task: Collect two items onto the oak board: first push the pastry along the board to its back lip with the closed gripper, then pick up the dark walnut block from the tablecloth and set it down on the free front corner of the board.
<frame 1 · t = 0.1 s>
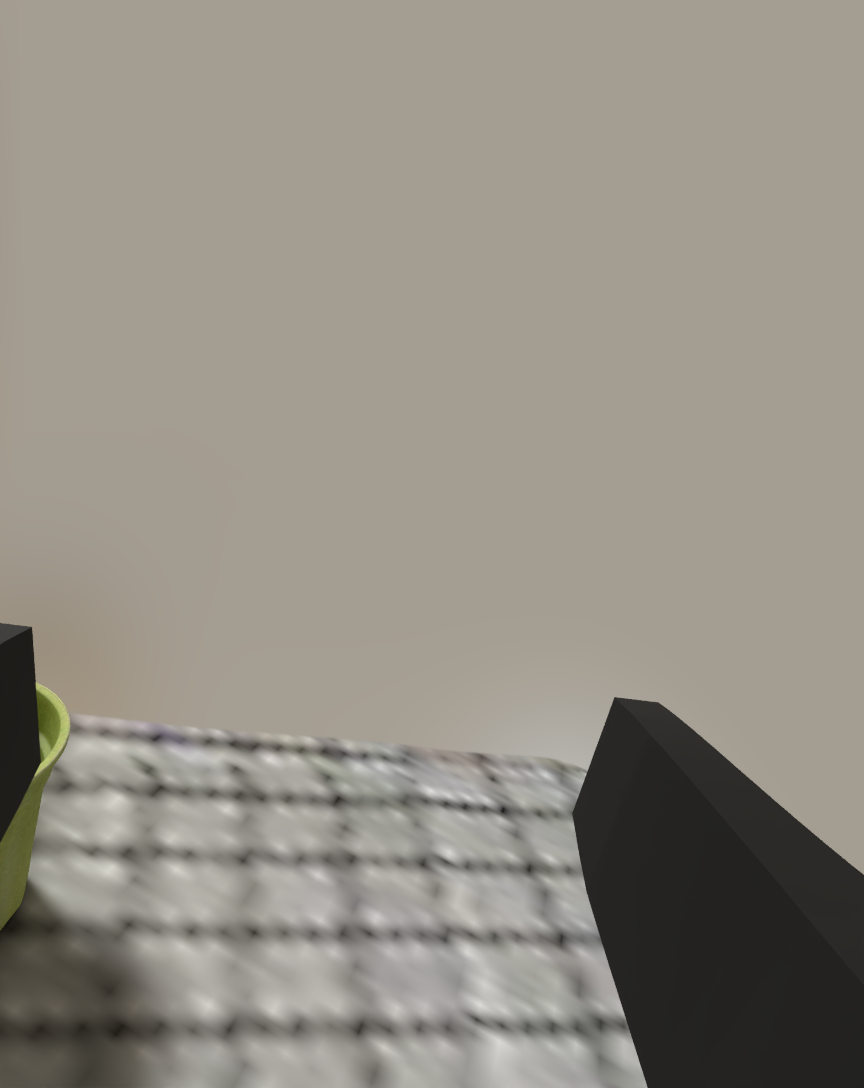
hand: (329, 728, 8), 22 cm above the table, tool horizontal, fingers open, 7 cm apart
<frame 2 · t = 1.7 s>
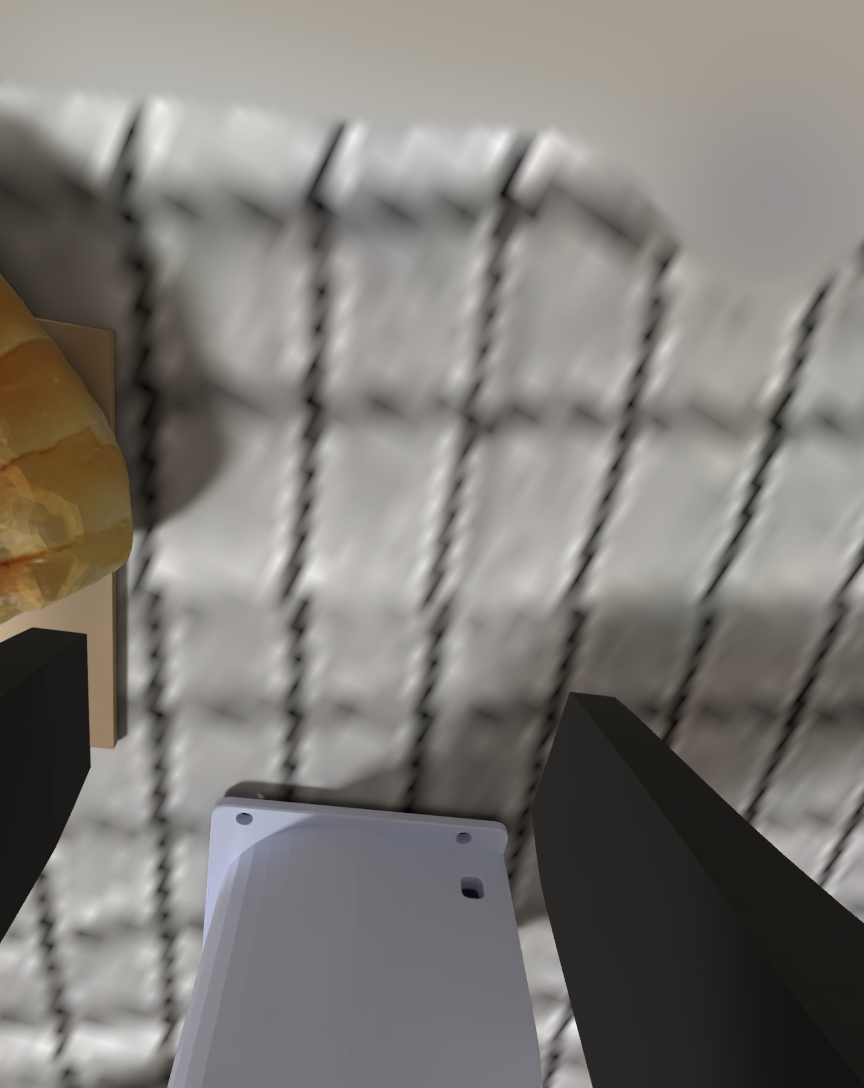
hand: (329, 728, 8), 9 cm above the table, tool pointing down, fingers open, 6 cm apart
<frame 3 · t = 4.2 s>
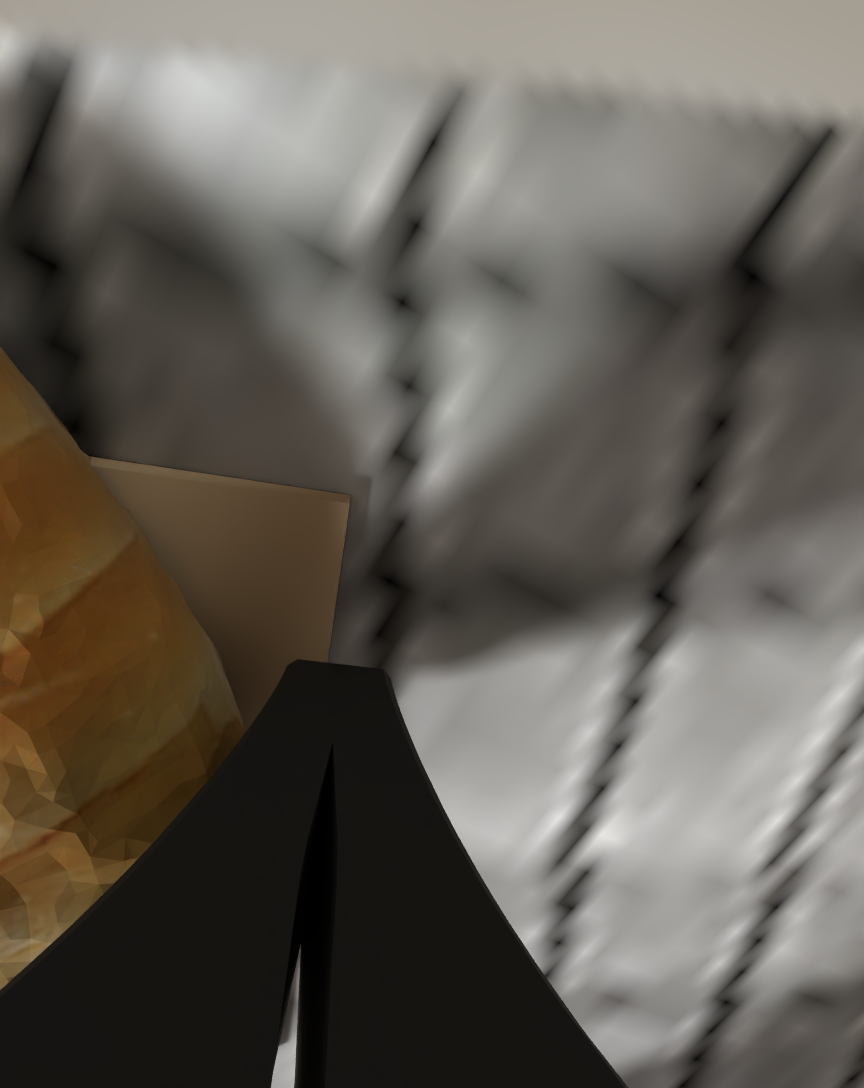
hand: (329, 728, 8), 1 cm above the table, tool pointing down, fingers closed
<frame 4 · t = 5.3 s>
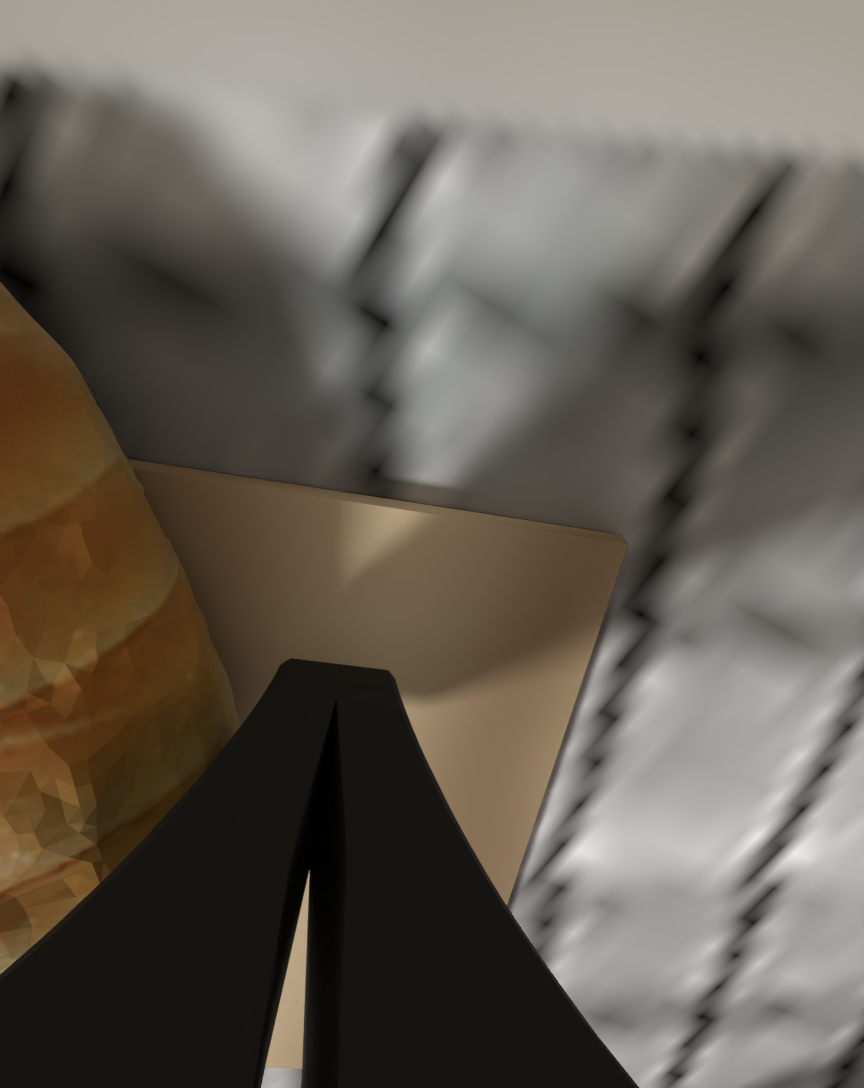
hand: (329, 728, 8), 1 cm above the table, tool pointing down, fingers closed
board: (54, 811, 10), on the table
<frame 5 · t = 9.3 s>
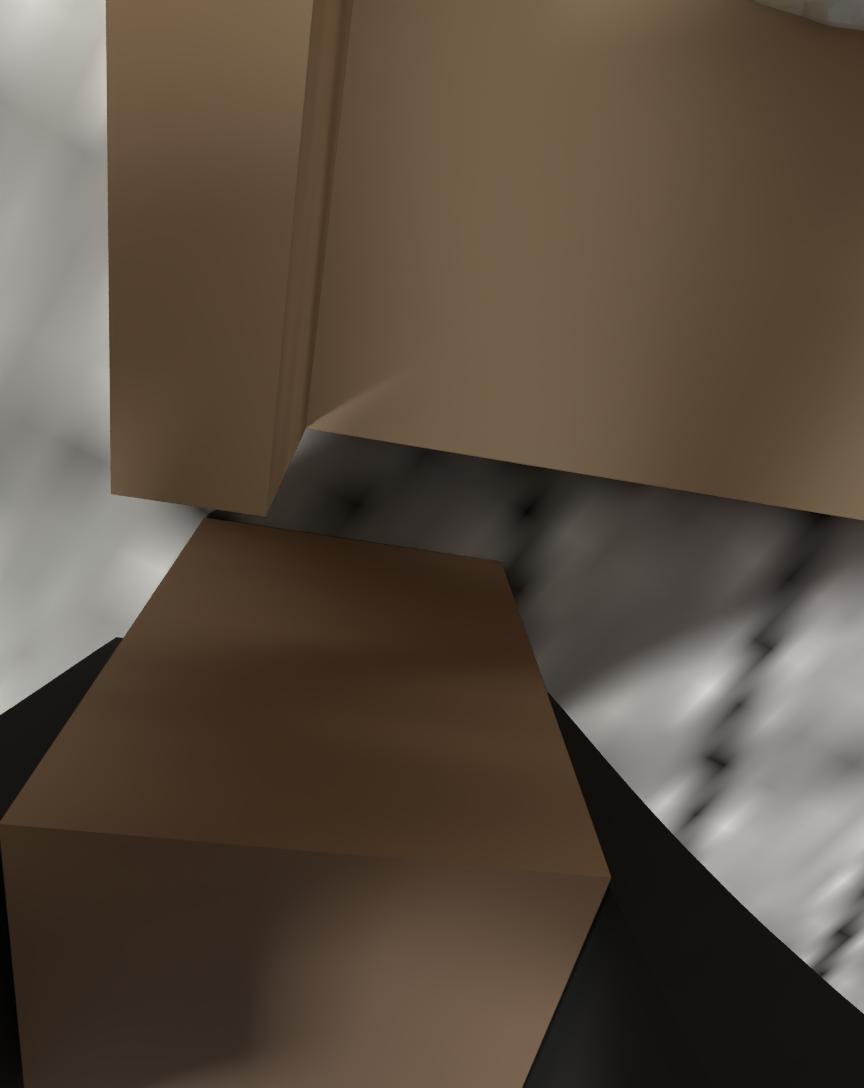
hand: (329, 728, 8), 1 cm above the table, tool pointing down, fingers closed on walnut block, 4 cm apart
walnut block: (337, 663, 10), on the table, touching gripper
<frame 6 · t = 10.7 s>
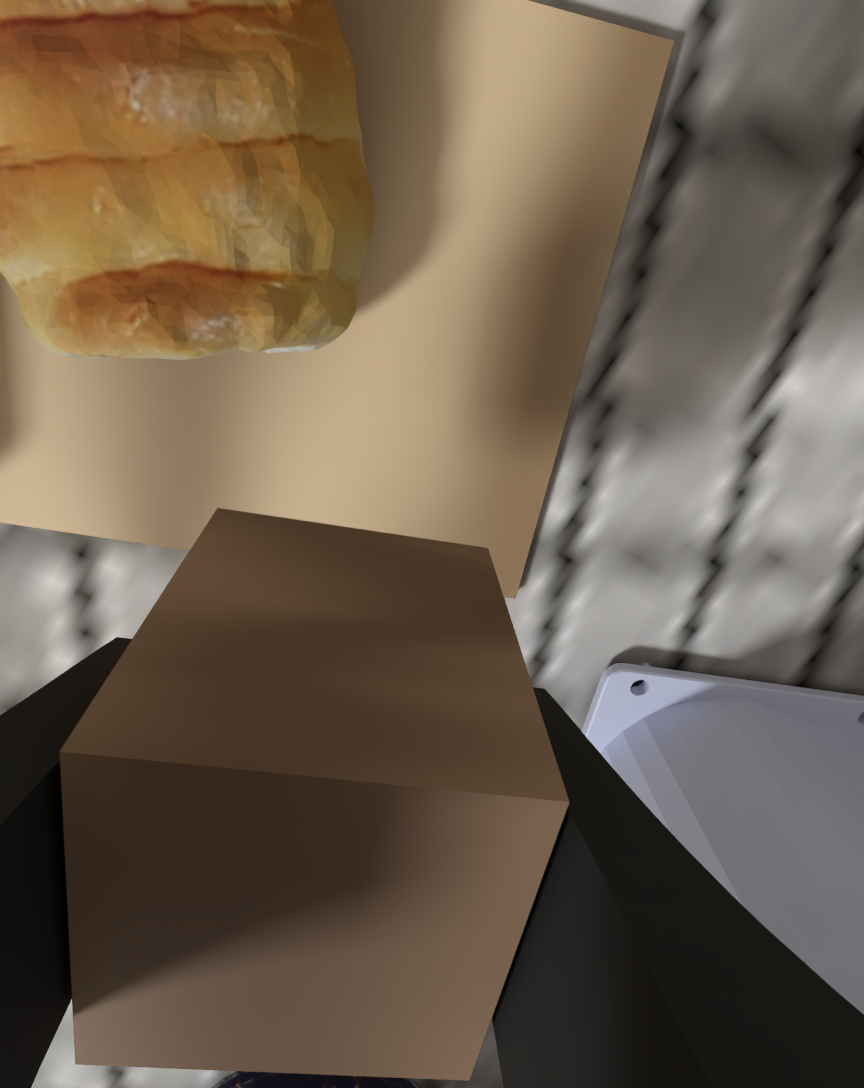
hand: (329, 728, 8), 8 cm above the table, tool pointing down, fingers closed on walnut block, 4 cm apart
walnut block: (338, 642, 11), point 6 cm above the table, touching gripper
board: (240, 294, 14), on the table
pastry: (178, 135, 13), resting on board
when the fingers open (3 cm above the table, at t = 12.2 s): walnut block stays where it is, resting on board.
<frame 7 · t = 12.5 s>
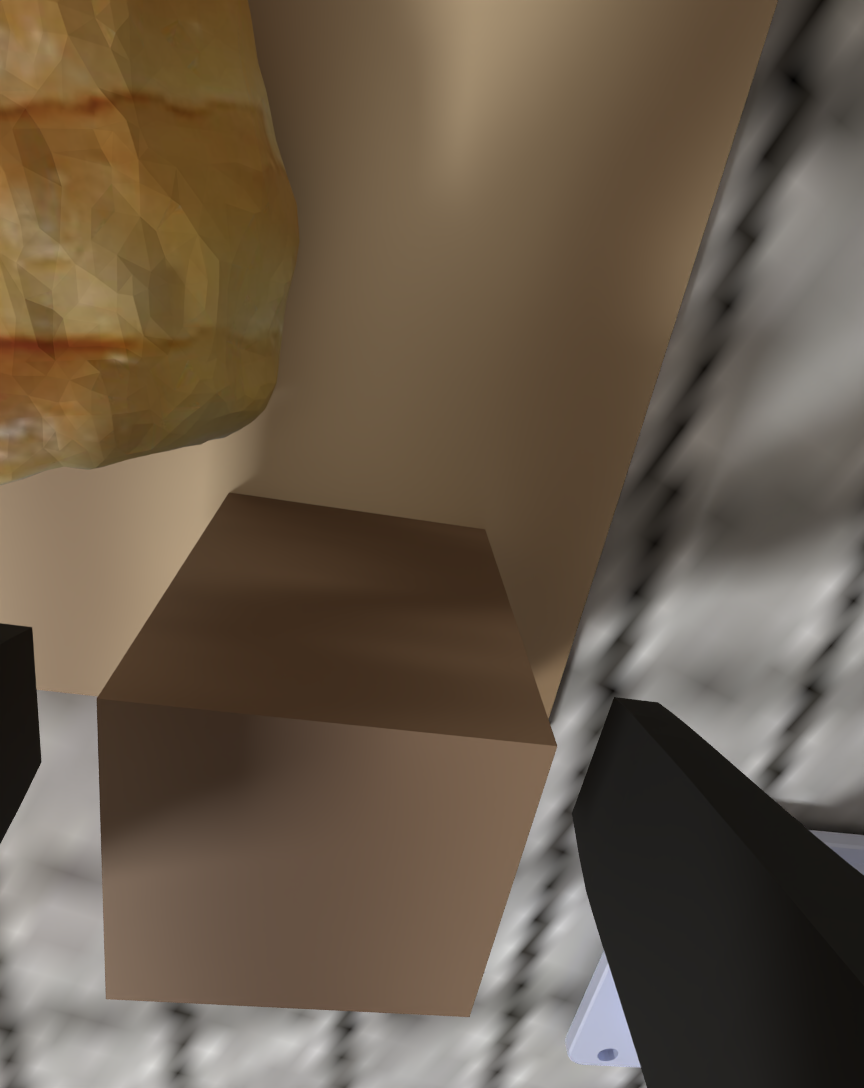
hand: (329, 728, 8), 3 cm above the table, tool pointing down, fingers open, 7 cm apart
walnut block: (344, 620, 11), resting on board
board: (132, 344, 9), on the table
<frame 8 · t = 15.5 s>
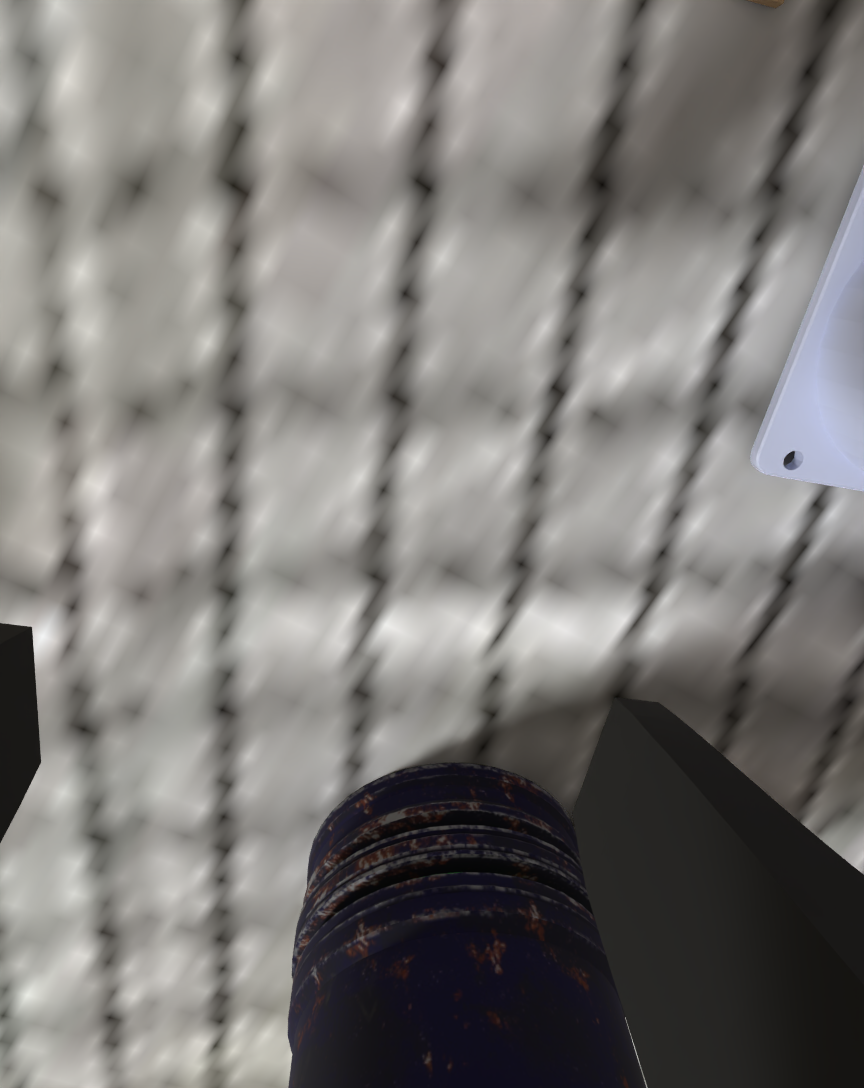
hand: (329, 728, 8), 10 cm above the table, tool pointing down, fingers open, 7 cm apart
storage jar: (444, 862, 24), on the table
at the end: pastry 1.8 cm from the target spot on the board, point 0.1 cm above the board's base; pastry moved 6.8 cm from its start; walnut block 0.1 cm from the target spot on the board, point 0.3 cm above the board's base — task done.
